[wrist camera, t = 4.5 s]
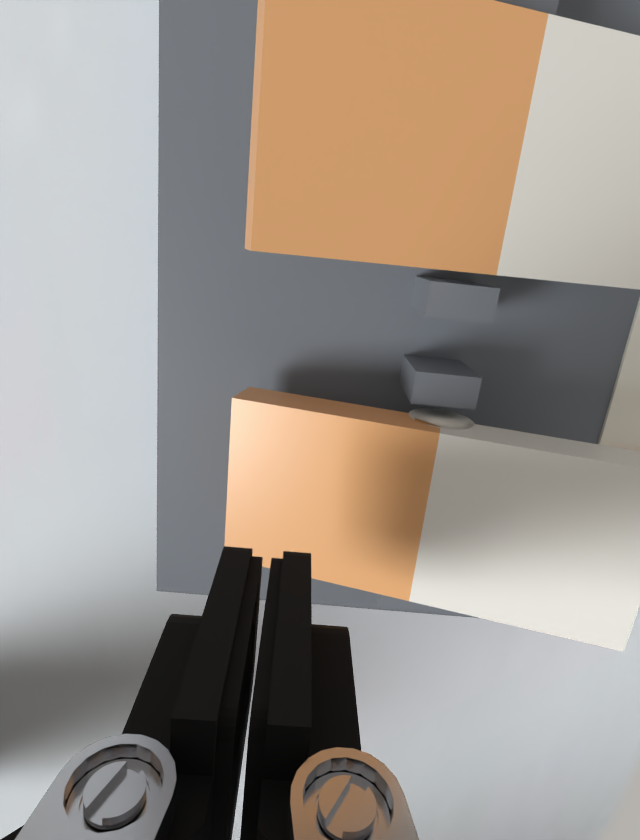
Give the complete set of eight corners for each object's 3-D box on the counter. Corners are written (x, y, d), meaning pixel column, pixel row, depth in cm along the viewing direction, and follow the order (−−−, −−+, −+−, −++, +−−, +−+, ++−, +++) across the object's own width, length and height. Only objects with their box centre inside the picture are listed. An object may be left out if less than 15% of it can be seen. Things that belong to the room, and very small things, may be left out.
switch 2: (601, 600, 14) (624, 651, 12) (250, 523, 16) (223, 557, 14) (652, 443, 13) (685, 475, 11) (260, 380, 15) (231, 397, 13)
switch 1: (625, 286, 14) (691, 294, 12) (240, 247, 11) (251, 250, 10) (679, 90, 12) (763, 65, 11) (253, -3, 10) (268, -55, 8)
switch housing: (573, 574, 20) (651, 676, 16) (180, 540, 20) (136, 634, 15) (858, -395, 12) (1208, -809, 7) (201, -494, 12) (119, -1007, 7)
